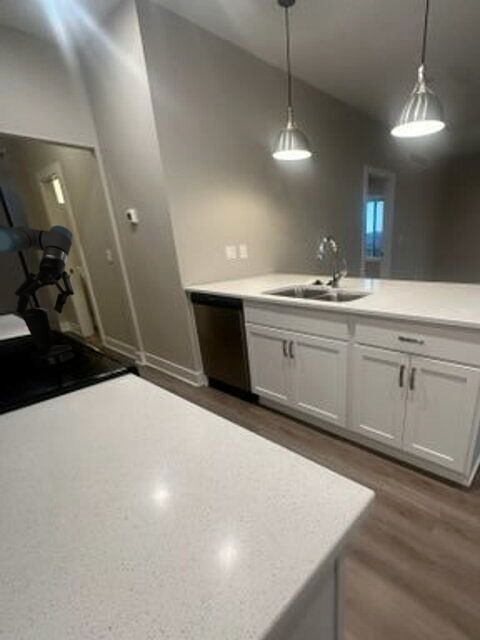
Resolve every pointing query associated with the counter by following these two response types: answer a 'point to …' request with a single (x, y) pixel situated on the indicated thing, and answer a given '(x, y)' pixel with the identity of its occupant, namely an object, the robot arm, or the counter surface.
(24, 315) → the drinking cup
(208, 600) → the counter surface
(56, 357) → the stand
